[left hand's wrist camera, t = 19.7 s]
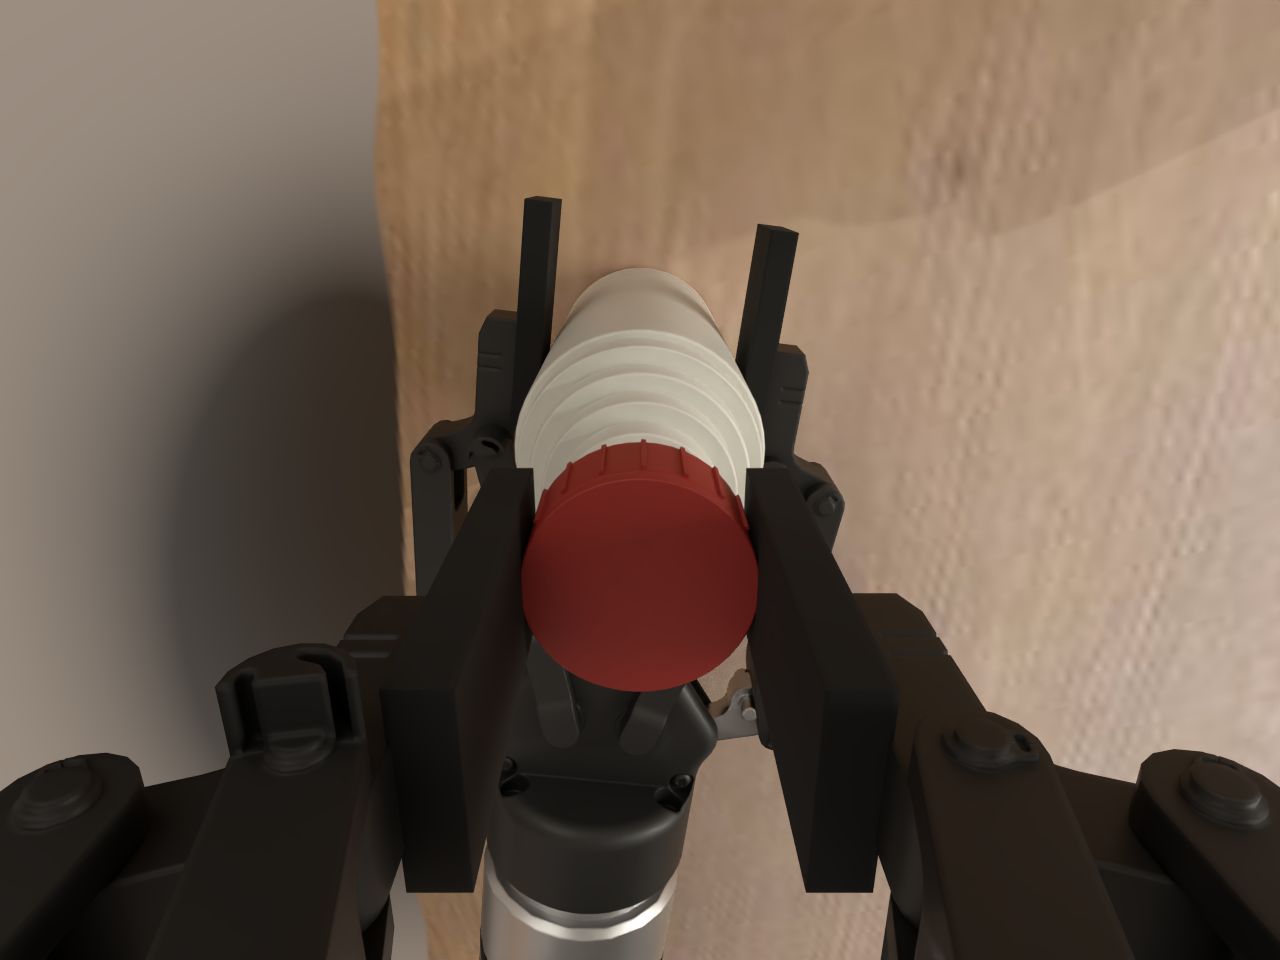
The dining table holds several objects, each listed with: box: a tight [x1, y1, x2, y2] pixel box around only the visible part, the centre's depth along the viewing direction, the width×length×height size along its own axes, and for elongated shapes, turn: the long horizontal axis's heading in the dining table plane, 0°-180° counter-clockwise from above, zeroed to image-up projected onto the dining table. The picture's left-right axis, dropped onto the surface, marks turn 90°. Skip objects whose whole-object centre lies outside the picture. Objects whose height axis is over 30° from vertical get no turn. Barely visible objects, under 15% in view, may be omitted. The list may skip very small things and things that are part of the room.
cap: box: [521, 439, 758, 692], centre depth 14 cm, size 4×4×2 cm
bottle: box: [515, 268, 765, 511], centre depth 22 cm, size 6×6×19 cm
